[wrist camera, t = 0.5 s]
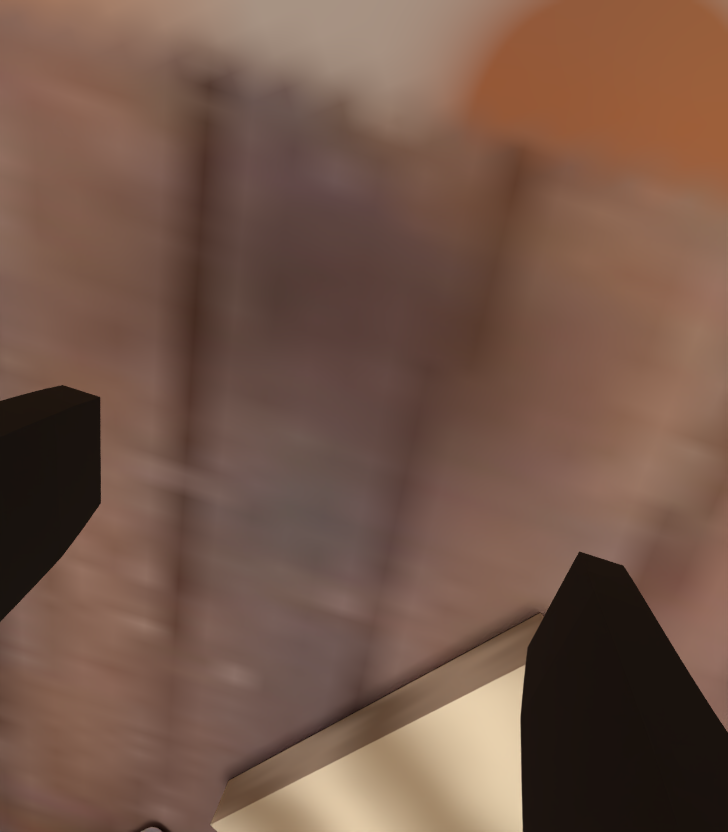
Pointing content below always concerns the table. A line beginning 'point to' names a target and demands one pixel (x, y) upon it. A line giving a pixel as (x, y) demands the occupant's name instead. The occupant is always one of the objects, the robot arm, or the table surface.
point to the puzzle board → (404, 757)
